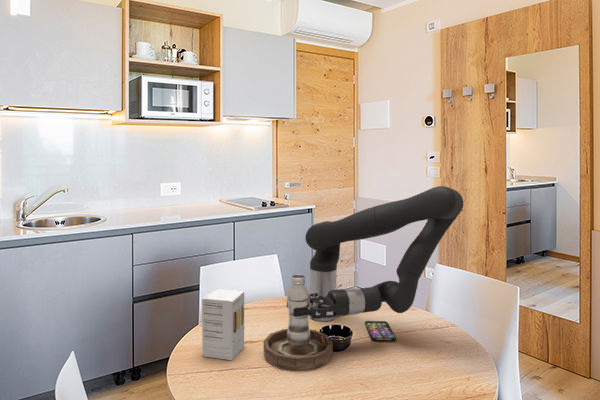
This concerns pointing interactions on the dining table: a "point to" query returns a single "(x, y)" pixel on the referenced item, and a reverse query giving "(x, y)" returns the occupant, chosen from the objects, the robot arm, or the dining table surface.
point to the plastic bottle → (298, 325)
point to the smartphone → (380, 331)
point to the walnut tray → (297, 351)
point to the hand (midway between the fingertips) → (290, 308)
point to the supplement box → (223, 324)
